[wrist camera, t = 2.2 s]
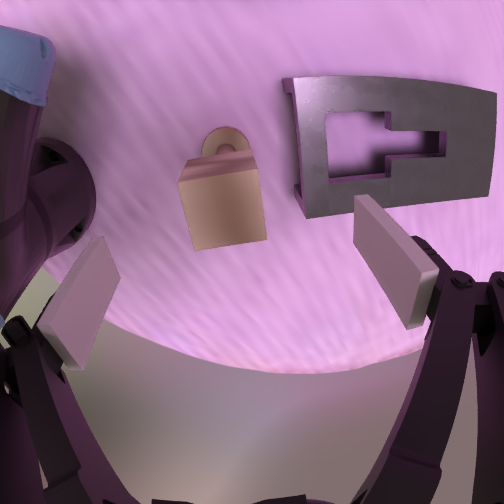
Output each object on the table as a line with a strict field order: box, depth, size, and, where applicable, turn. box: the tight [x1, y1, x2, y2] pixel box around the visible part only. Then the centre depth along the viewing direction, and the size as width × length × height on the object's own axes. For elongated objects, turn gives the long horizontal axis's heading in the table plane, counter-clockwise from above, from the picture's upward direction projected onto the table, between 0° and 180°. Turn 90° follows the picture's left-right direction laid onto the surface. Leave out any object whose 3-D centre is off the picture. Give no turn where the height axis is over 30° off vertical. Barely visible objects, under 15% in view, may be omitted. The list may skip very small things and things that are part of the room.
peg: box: [177, 127, 267, 251], centre depth 24 cm, size 5×5×17 cm
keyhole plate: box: [282, 76, 497, 219], centre depth 29 cm, size 26×14×6 cm, turn 98°
